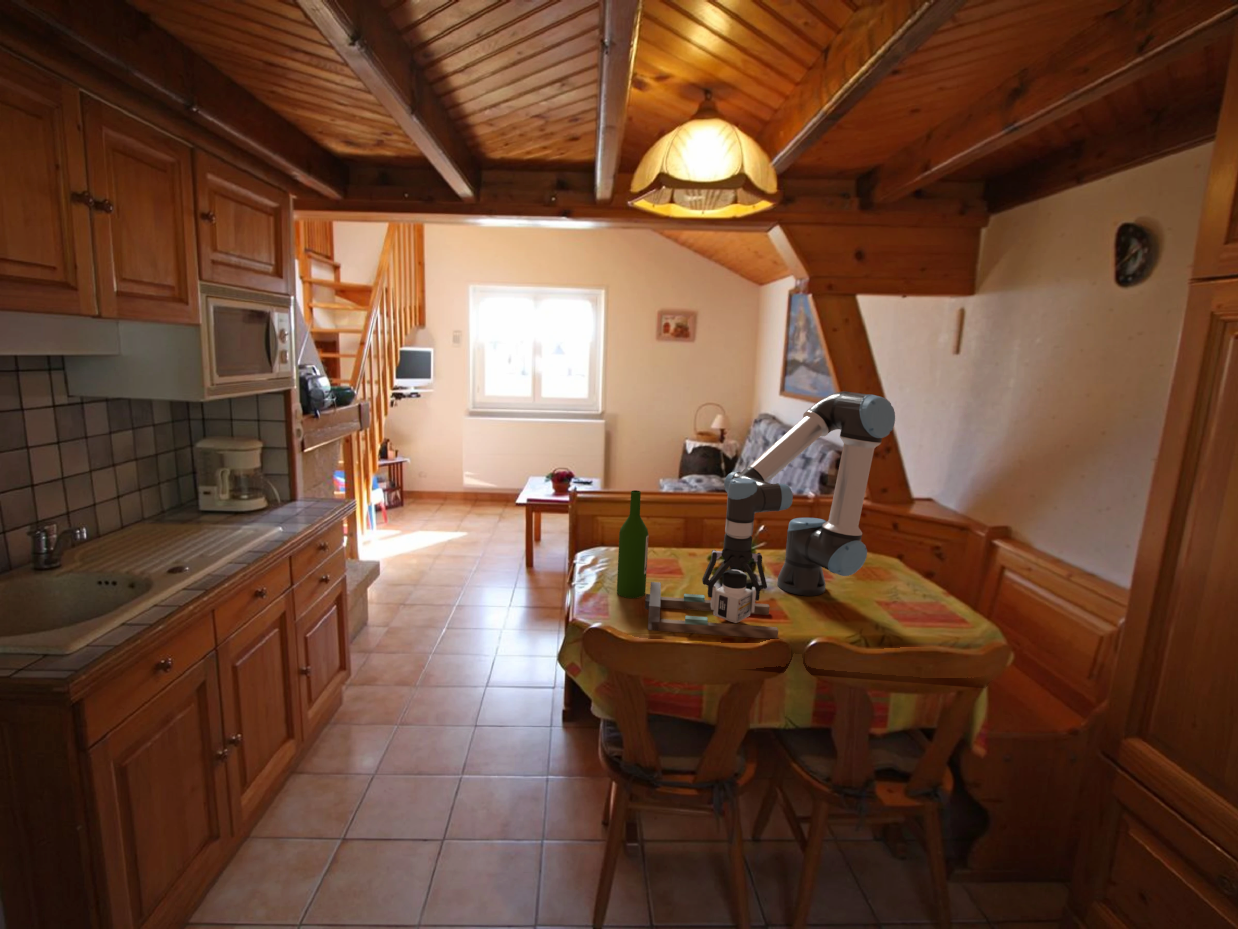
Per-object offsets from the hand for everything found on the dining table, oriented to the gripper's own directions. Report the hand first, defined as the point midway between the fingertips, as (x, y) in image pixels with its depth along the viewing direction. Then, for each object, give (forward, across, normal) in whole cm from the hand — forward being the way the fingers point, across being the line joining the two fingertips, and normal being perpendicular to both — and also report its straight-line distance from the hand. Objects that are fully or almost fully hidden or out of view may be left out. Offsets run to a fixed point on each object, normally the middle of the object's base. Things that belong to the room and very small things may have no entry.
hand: (732, 609), depth 178 cm
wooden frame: (+4, +6, 0) cm, 8 cm away
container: (+2, 0, 0) cm, 2 cm away
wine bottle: (+4, +29, -16) cm, 34 cm away
